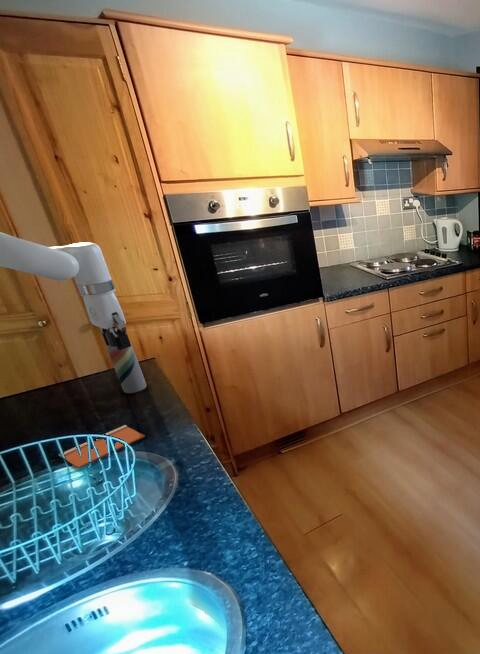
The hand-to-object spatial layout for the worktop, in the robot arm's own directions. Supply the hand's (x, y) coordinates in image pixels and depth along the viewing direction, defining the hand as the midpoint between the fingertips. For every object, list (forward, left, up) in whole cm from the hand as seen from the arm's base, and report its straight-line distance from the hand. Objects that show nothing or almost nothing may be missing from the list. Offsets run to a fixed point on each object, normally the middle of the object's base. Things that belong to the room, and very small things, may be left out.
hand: (118, 345), depth 134 cm
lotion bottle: (0, 0, -15) cm, 15 cm away
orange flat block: (-19, -25, -15) cm, 35 cm away
